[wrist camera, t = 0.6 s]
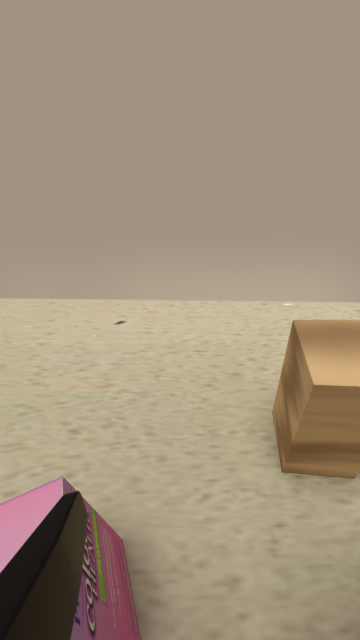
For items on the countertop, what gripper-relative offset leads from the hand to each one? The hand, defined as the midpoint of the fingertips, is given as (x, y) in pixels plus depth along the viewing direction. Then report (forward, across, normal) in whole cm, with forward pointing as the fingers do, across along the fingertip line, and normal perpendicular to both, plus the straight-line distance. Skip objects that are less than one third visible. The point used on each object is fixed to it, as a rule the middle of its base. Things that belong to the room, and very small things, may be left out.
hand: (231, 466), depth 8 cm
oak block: (+12, -10, +12) cm, 20 cm away
